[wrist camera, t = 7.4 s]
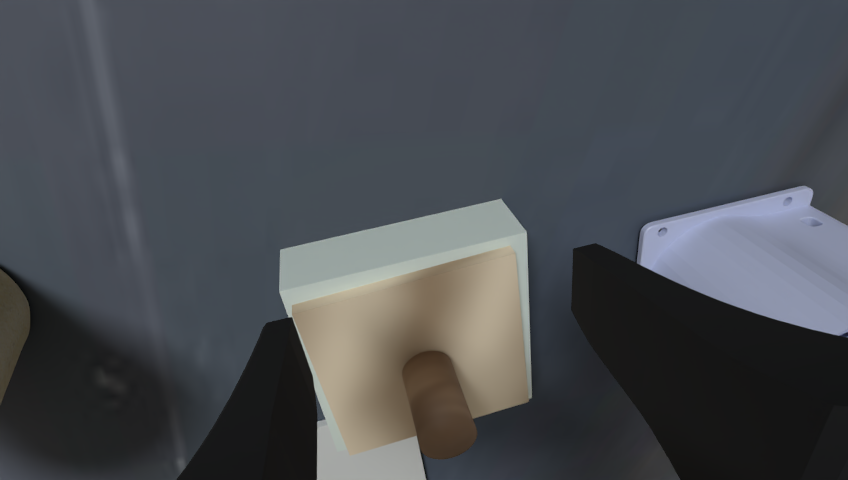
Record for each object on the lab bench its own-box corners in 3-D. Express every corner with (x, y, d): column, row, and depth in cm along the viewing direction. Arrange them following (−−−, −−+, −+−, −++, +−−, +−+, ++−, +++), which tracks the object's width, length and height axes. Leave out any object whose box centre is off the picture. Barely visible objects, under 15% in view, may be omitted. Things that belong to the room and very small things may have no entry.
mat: (408, 397, 29) (409, 403, 28) (430, 499, 34) (431, 504, 34) (224, 446, 28) (224, 452, 27) (277, 543, 33) (277, 550, 33)
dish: (498, 195, 24) (526, 232, 21) (508, 351, 29) (531, 397, 26) (280, 245, 23) (279, 291, 20) (332, 398, 28) (337, 452, 25)
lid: (510, 245, 21) (559, 316, 17) (524, 392, 26) (564, 473, 22) (292, 304, 20) (292, 393, 16) (348, 445, 25) (359, 539, 21)
